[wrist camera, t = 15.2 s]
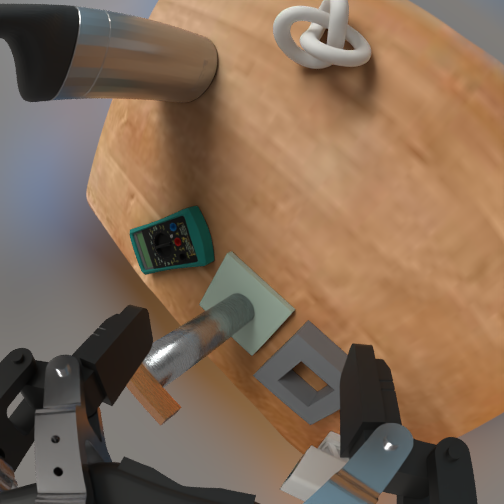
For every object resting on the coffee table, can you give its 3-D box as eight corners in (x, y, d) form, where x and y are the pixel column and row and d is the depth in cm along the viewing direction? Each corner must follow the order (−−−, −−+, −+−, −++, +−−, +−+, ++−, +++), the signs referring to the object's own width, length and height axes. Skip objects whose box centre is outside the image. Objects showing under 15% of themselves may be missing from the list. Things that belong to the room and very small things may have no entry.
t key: (209, 293, 38) (99, 355, 24) (221, 272, 36) (100, 334, 22) (259, 342, 35) (158, 428, 22) (275, 324, 33) (167, 417, 20)
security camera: (322, 424, 35) (290, 477, 27) (364, 443, 32) (338, 498, 24) (309, 443, 38) (278, 490, 30) (346, 460, 35) (320, 509, 27)
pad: (202, 302, 40) (199, 304, 40) (231, 251, 35) (227, 253, 34) (255, 352, 38) (251, 356, 37) (295, 309, 32) (292, 312, 31)
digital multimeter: (221, 259, 37) (205, 267, 34) (153, 270, 45) (139, 276, 43) (204, 202, 35) (187, 207, 33) (140, 226, 44) (125, 231, 42)
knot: (304, 91, 24) (275, 78, 20) (284, 25, 23) (253, 4, 18) (380, 73, 20) (368, 52, 15) (353, 4, 18) (333, -26, 14)
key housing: (265, 362, 37) (253, 375, 35) (308, 320, 32) (297, 333, 29) (319, 409, 35) (310, 424, 32) (372, 376, 29) (365, 393, 27)
